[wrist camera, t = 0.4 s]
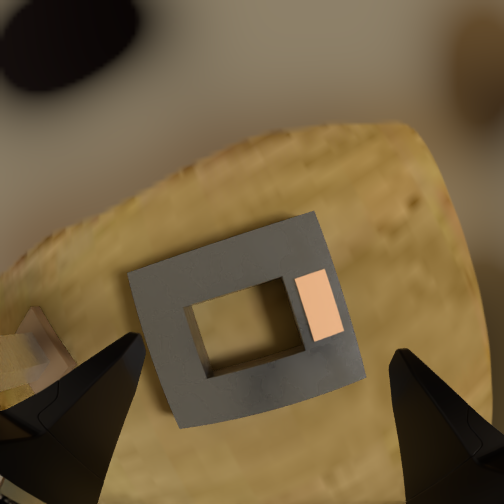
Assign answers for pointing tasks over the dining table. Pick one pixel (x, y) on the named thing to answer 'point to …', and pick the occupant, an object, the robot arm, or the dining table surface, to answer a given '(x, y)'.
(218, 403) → the flange plate
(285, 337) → the dining table surface
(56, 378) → the pad
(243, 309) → the dining table surface
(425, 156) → the dining table surface
